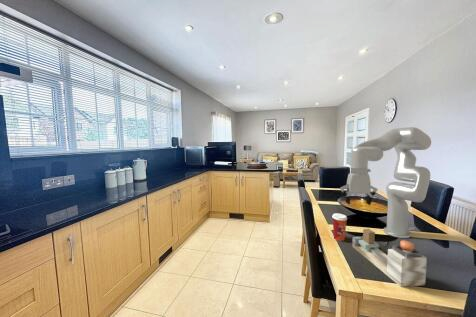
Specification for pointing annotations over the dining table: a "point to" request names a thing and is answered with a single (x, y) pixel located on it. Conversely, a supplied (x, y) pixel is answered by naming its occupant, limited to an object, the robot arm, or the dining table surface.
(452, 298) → the dining table surface
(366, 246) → the carriage
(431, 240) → the dining table surface
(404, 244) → the button
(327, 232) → the dining table surface
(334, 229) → the paper cup
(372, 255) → the track
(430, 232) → the dining table surface
